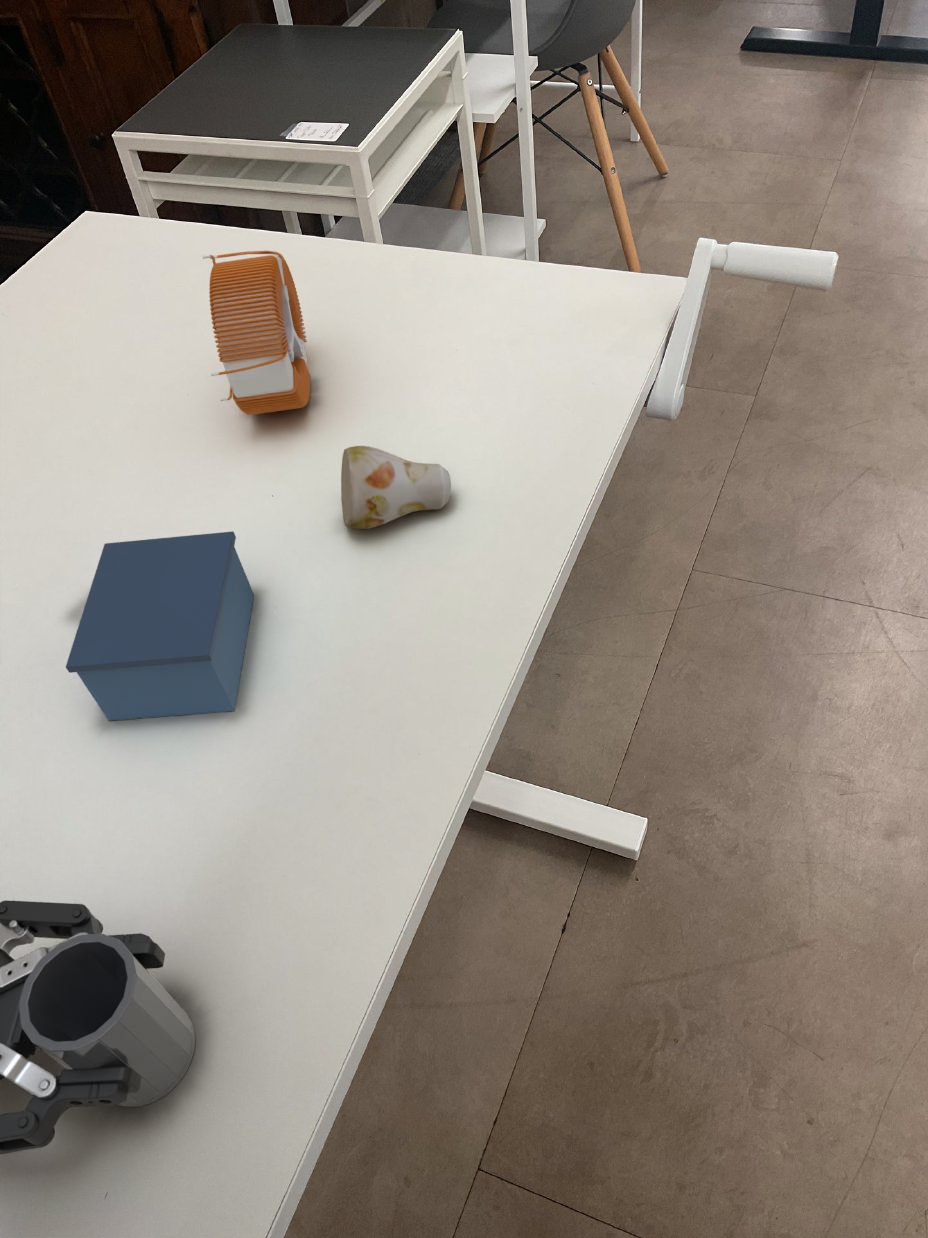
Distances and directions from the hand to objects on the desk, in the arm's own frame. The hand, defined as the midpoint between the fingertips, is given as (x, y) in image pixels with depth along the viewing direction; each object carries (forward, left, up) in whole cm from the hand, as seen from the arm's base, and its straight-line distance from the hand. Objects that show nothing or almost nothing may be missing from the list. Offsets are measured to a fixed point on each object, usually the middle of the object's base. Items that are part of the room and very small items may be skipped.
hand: (147, 1014), depth 56 cm
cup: (0, +2, -6) cm, 6 cm away
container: (+31, +5, -6) cm, 32 cm away
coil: (+64, +1, -6) cm, 64 cm away
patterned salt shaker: (+46, -12, -6) cm, 48 cm away
